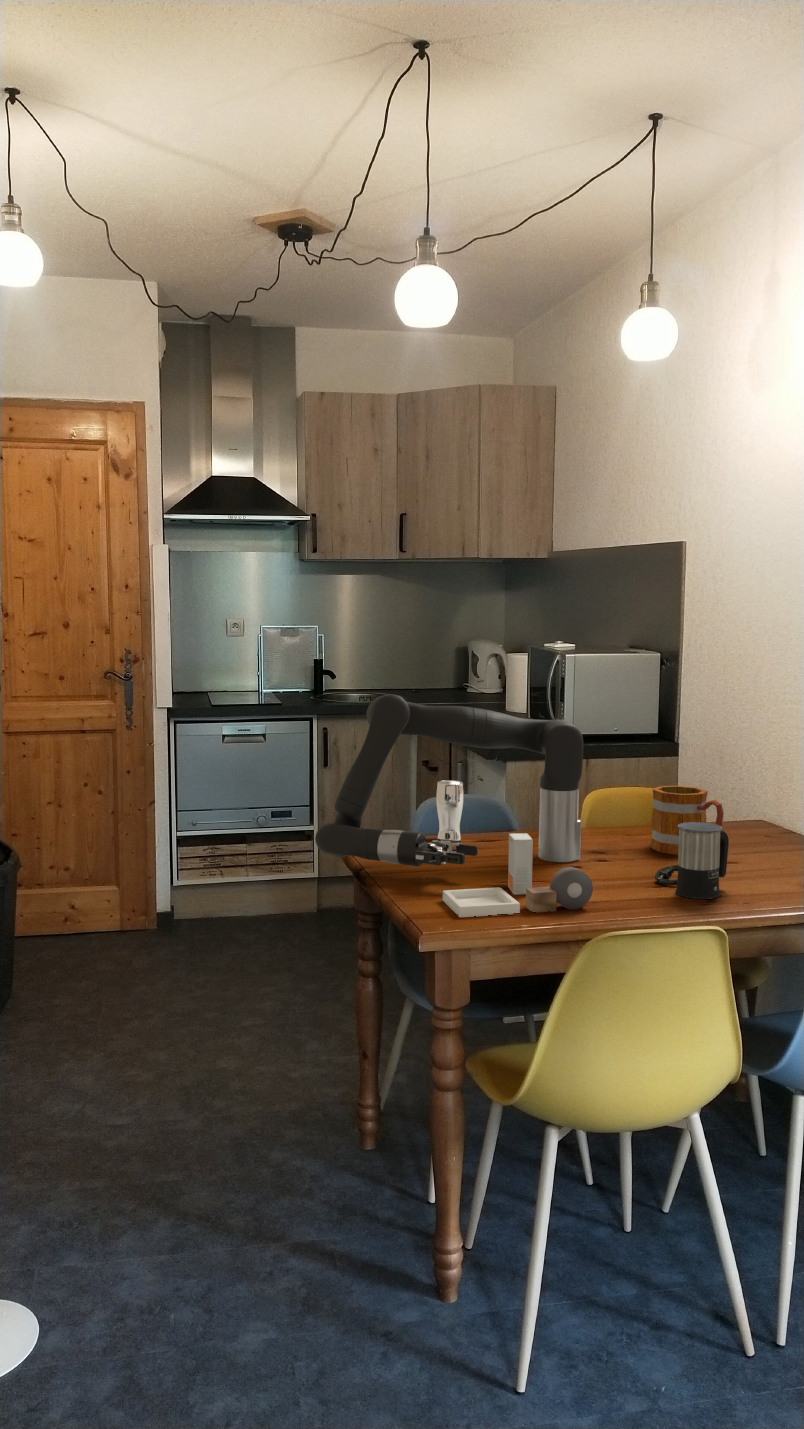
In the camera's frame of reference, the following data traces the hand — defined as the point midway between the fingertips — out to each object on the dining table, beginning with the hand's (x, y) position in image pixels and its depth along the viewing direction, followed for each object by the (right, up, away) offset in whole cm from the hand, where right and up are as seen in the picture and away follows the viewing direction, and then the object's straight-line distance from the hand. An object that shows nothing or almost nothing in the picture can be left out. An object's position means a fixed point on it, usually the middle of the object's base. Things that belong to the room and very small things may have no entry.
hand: (470, 855), depth 239 cm
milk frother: (+47, -8, -1) cm, 47 cm away
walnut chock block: (+13, -9, -17) cm, 23 cm away
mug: (+56, -4, +35) cm, 67 cm away
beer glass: (-3, -2, +46) cm, 46 cm away
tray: (+1, -8, -16) cm, 18 cm away
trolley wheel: (+19, -9, -16) cm, 26 cm away
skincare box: (+10, -7, -3) cm, 13 cm away
